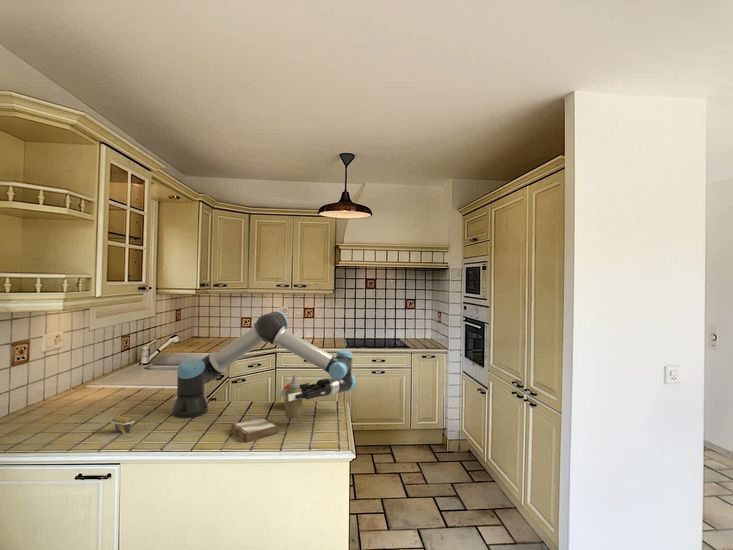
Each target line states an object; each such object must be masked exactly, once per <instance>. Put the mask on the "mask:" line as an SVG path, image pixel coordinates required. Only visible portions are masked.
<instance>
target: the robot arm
mask: <svg viewBox="0 0 733 550" xmlns="http://www.w3.org/2000/svg"><path fill="white" fill-rule="evenodd" d="M288 326H289V320H288V318H287V316H286V315H285V314H284V313H283V312H281V311H271V312H270V313H266V314H262V315H260V316H259V317H258V318H257V320H256V322H254V323H253V327H252V328H251V329H249V330H248V331H247V332H244V334H242V335H240V336H238V337H237V338H236V339H235V340H233V341H232V342H231V343H229V344H227V345H226V346H224V347H223V348H222V349H220V350H219V351H218V352H217V351H216V352H214V351H212V352H210V353H209V354H208V355H206V356H204V357H203V358H201V359H190V360H186V361H183V362H181V363H180V364H179V365H178V366H177V373H176V374H177V375H176V376H177V380H176V381H177V384H176V387H177V390H176V392H177V393H176V399H175V402H174V405H173V407H172V416H173V417H175V418H179V419H181V418H183V419H186V418H188V419H189V418H196V417H200V416H202V415H205V414H206V413H208V410H209V407H208V402H207V399H206V396H205V385H206V384H208V383H210V382H211V381H214V380H216V379H217V378H219V377H220V376H222V374H223V373H225V372H226V370H227V367H229V366H230V365H231V364H233V363H235V362H236V361H237V360H239V359H241V358H242V357H243V356H246V354H247V353H249V352H250V351H252V350H254V349H255V348H257V347H258V346H260V345H261V344H263V343H269V344H271V345H273V346H277V345H278V346H279V347H281V348H283V349H285V350H286V351H288V352H290V353H292V354H294V355H296V356H297V357H298V358H301V359H302V360H305V362H308V363H310V364H312V365H314V366H315V367H318V368H319V369H321V370H323V371H324V372H326V373H328V374H329V377H326V378H321V379H319V380H317V382H316V383H312V384H310V383H309V382H307V383H302V384H300V388H301V389H302V392H303V394H302V392H297V393H292V394H288V401H292V400H297V399H301V398H302V400H303V399H306V400H311V399H315V398H319V397H325V396H333V395H334V394H339V393H344V392H349V391H351V390H352V391H353V390H354V389H355V388H356V384H357V380H356V377H355V375H353V374H352V367H353V366H352V365H353V353H352V351H350V350H343V349H341V350H338V351H336V356H334V355H332V354H331V353H330V352H329V353H328V352H327V351H325V350H324V349H321V348H320V347H317V346H316V345H314V344H312V343H310V342H309V341H307V340H305V339H304V338H302V337H299V336H298V335H295V334H294V333H292V332H290V331H289V330H287V329H288ZM286 391H287V389H284V388H283V389H279V390H278V397H279V398H281V397H286Z"/></svg>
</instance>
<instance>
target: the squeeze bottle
mask: <svg viewBox="0 0 733 550" xmlns="http://www.w3.org/2000/svg"><path fill="white" fill-rule="evenodd" d="M297 382H298V379H297V375H296V374H293V375H292V379H291V382H289V383H288V384H289V388H288V389H287V391H286V396H285V400H284V408H283V409H284V414H285V417H286V418H288V419H292V420H293V419H298V418H300V417H301V414H302V411H303V398H301V399H297V400H292V401H288V394H292V393H297V392H302V389H301V388H300V385H301V384H300V382H298V383H297Z"/></svg>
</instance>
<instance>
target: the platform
mask: <svg viewBox="0 0 733 550" xmlns="http://www.w3.org/2000/svg"><path fill="white" fill-rule="evenodd" d="M110 422H111V423H112V424H114V430H115V431H118V432H121V433H122V434H125V433H129V434H130V433H131V424H133V423H135V420H132V419H130V417H129V416H123V415H117V417H116V416H114V418H112V419H111V421H110Z"/></svg>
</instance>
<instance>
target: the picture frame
mask: <svg viewBox="0 0 733 550" xmlns="http://www.w3.org/2000/svg"><path fill="white" fill-rule="evenodd" d="M230 429H231V430H230V431H231V433H233V434H234V435H236V436H237V437H238V438H239V439H241V440H243V441H244V442H246V443H249V442H254V441H257V440H261V439H264V438H268V437H270V436H275V435H278V434H279V425H277V424H275V423H274V422H272V421H270V420H268V419H267V418H265V417H263V416H260V417H256V418H251V419H247V420H244V421H240V422H239V421H238V422H236V423H231V428H230ZM267 436H268V437H267Z"/></svg>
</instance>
